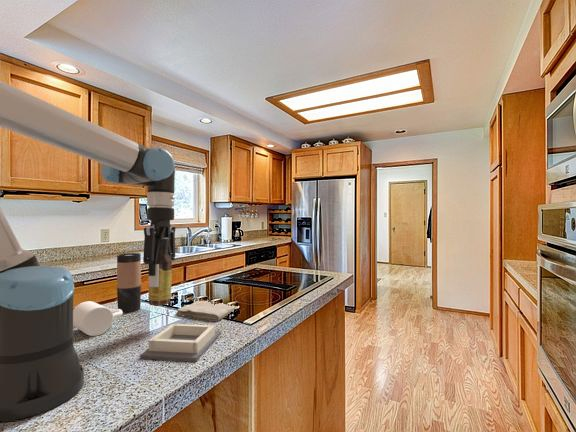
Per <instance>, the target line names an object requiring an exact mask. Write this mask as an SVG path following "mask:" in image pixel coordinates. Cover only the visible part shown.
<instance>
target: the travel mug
mask: <svg viewBox="0 0 576 432" xmlns="http://www.w3.org/2000/svg"><path fill="white" fill-rule="evenodd" d="M141 255H142V254H141V253H139V252H138V253H136V252H135V253H134V252H133V253H132V252H131V253H130V252H129V253H121V254H117V255H116V297H117V299H116V300H117V309H121V310H122V312H123V314H130V313H135V312H138V311H140V310H141V302H142V301H141V297H142V296H141V295H142V268H141V267H142V265H141V263H142V262H141V260H142V259H141V257H142V256H141Z"/></svg>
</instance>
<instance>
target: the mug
mask: <svg viewBox="0 0 576 432" xmlns="http://www.w3.org/2000/svg"><path fill="white" fill-rule="evenodd" d="M123 315H124V313H123V312H122V310H121V309H118V308H108V307H106V306H104V305H102V304H100V303H96V302H95V301H92V300H91V301H90V300H88V301H83V302H81V303H78V304H77V305H76V306H75V307H73V328H77V330H80V331H81V332H82V333H84V334H86V335H87V336H91V337H97V336H100V335H103V334H104V333H106V332H107V331H108V330H109V329H110V328H111V327H112V325H113V321H114V319H116V318H119V317H121V316H123Z"/></svg>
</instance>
